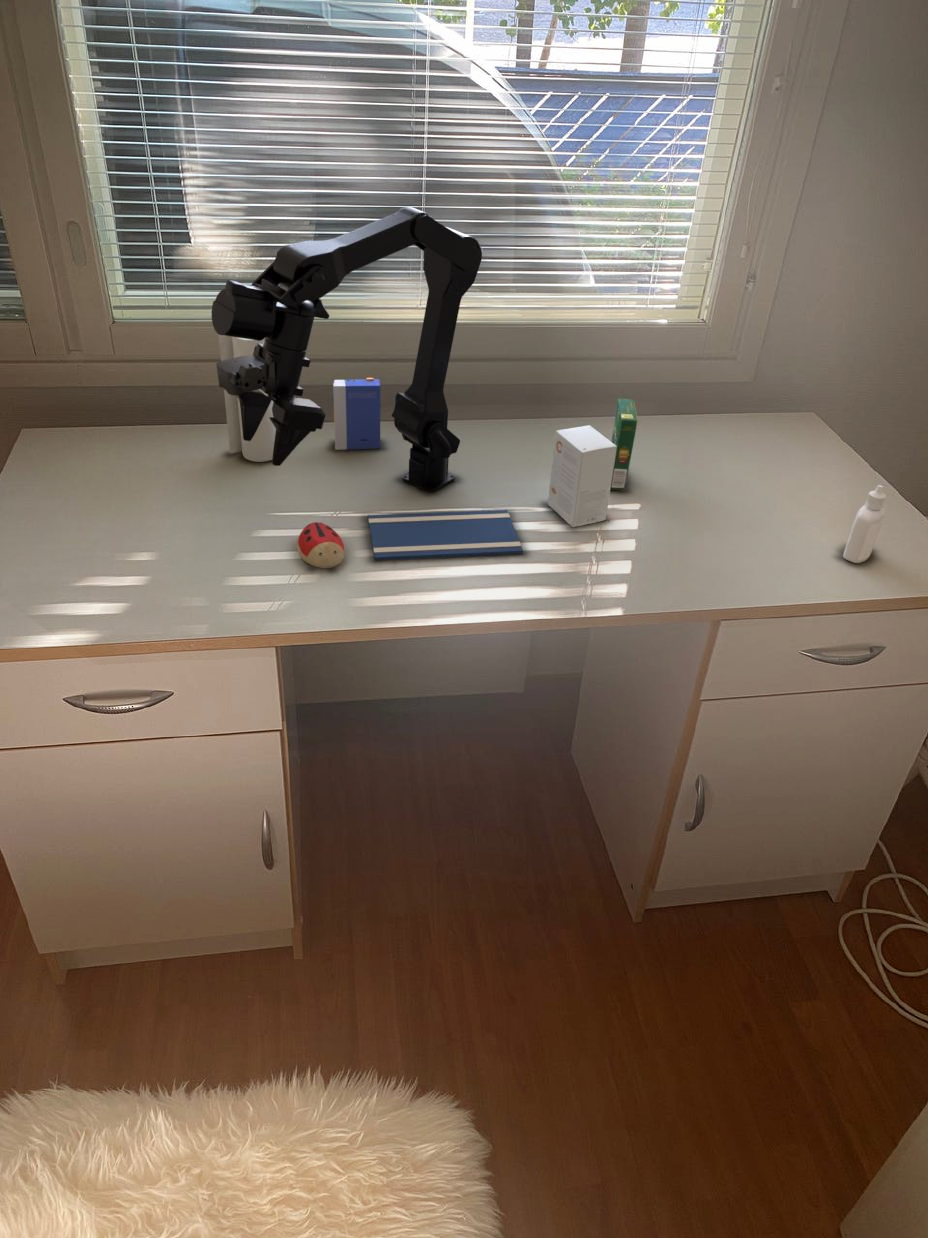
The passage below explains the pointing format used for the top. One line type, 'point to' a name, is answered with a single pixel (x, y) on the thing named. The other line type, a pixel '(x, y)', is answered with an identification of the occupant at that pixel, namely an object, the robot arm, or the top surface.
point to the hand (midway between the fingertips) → (261, 452)
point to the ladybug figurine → (320, 546)
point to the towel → (443, 535)
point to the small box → (581, 475)
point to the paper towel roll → (265, 434)
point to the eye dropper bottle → (866, 527)
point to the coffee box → (623, 441)
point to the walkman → (357, 414)
